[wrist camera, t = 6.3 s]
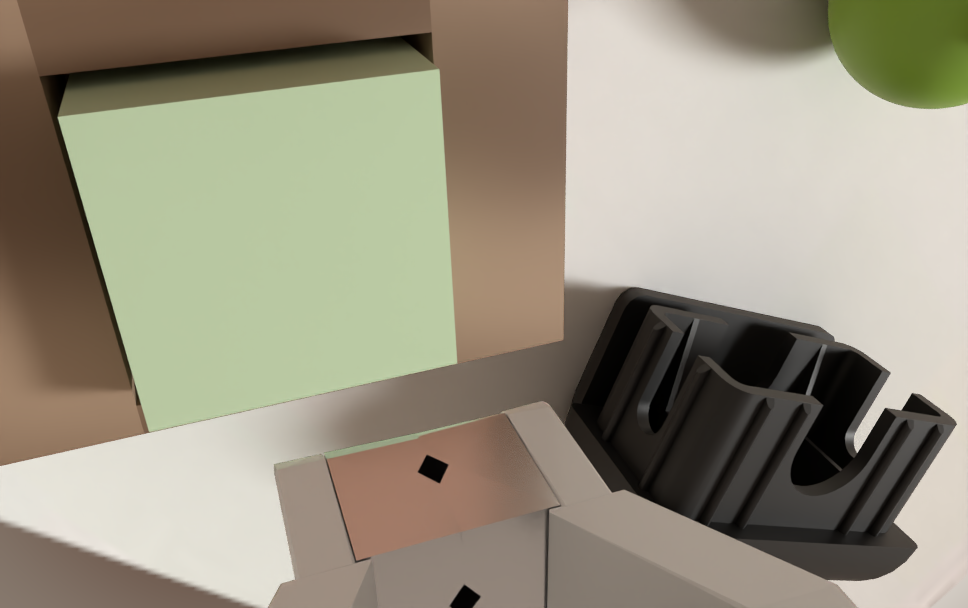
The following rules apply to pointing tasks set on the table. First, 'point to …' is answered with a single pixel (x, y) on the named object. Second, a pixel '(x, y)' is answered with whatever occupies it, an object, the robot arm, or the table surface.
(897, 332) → the table surface
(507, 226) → the key panel
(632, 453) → the end cap
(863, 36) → the snail figurine
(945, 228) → the table surface
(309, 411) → the table surface
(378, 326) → the sage key
